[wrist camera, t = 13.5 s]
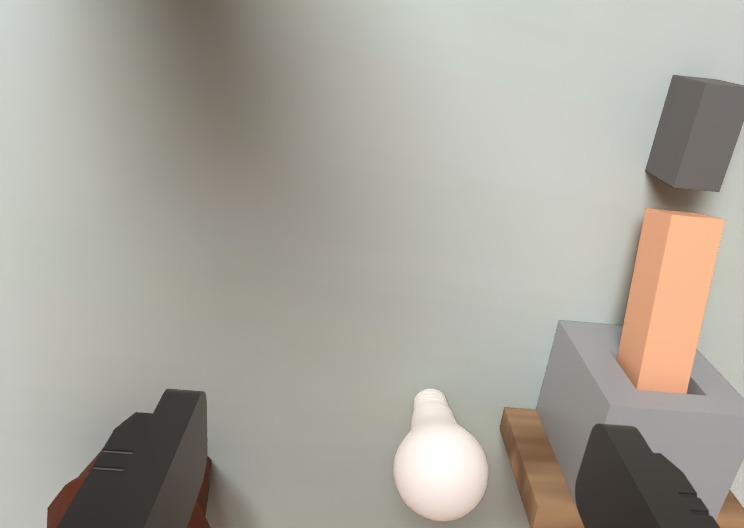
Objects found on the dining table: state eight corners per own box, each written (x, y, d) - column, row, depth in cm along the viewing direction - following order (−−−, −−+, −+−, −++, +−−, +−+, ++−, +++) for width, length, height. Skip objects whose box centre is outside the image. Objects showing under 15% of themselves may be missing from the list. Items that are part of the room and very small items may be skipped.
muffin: (138, 534, 52) (88, 649, 42) (57, 443, 48) (-18, 549, 38) (256, 487, 50) (230, 597, 40) (181, 388, 46) (134, 486, 36)
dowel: (645, 208, 38) (671, 214, 35) (694, 212, 38) (724, 219, 35) (601, 437, 41) (621, 462, 38) (646, 440, 41) (670, 465, 38)
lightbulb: (482, 377, 45) (515, 485, 35) (447, 437, 48) (469, 554, 38) (408, 351, 44) (421, 454, 34) (377, 413, 47) (379, 527, 37)
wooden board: (504, 407, 46) (538, 507, 37) (678, 421, 47) (754, 522, 38) (499, 427, 47) (531, 530, 38) (671, 441, 48) (743, 544, 39)
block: (559, 320, 43) (610, 405, 34) (679, 330, 44) (761, 417, 35) (536, 409, 47) (577, 509, 37) (648, 418, 47) (716, 519, 38)
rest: (673, 74, 36) (706, 83, 33) (717, 79, 37) (755, 88, 33) (645, 170, 39) (673, 187, 35) (687, 174, 39) (719, 192, 35)
